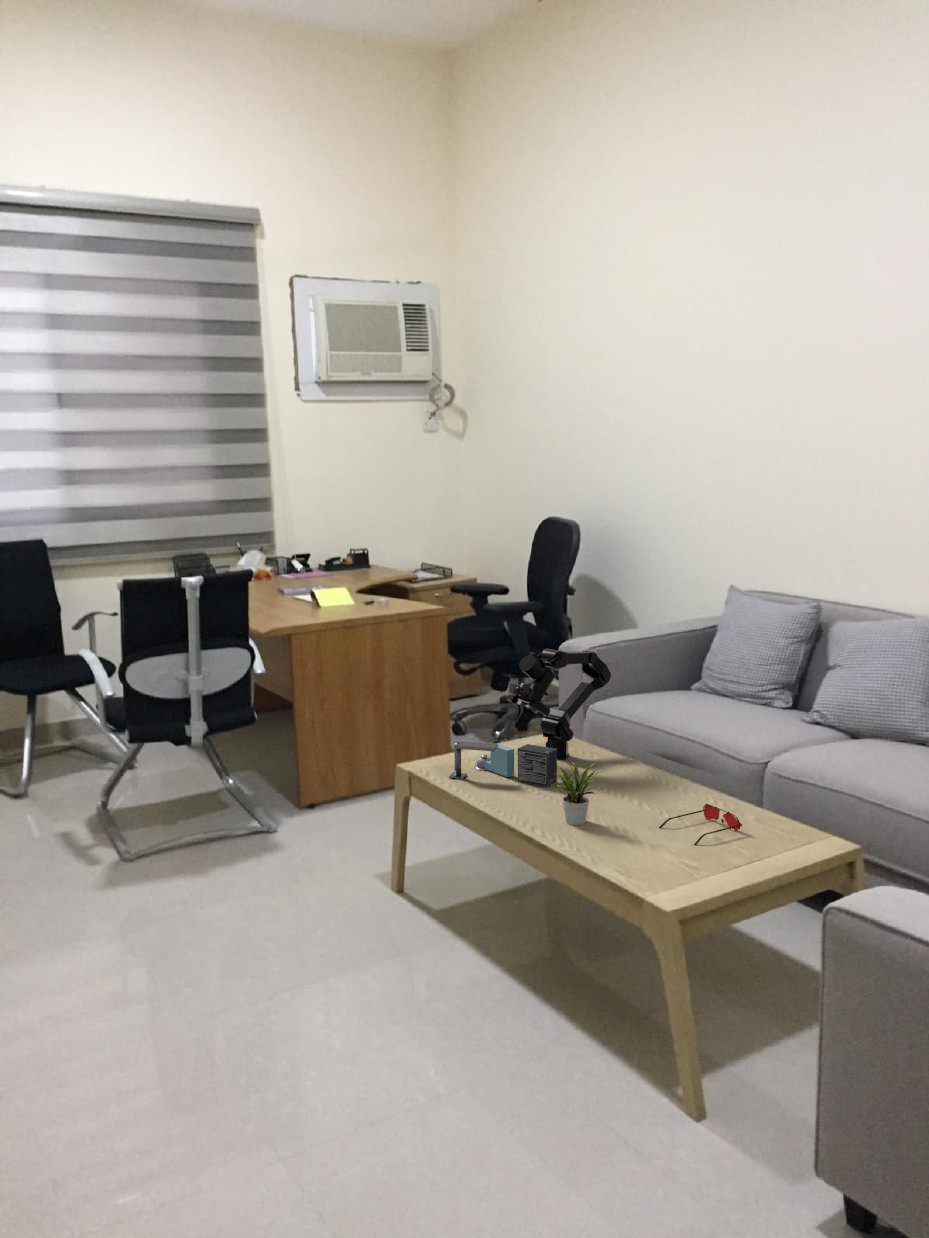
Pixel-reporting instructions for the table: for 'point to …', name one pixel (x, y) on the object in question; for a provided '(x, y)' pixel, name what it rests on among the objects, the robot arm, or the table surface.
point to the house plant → (576, 795)
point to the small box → (537, 765)
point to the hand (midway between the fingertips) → (515, 727)
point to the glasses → (713, 813)
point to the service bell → (481, 768)
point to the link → (499, 761)
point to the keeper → (468, 746)
